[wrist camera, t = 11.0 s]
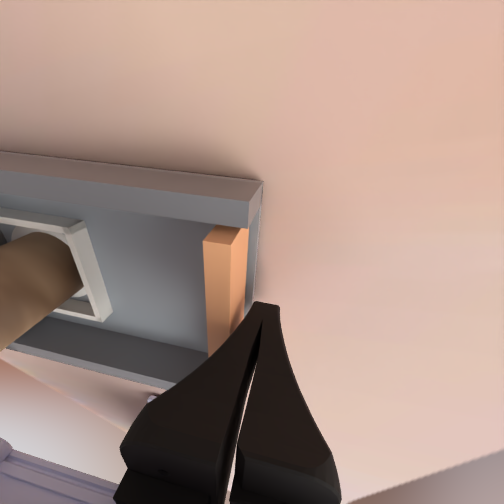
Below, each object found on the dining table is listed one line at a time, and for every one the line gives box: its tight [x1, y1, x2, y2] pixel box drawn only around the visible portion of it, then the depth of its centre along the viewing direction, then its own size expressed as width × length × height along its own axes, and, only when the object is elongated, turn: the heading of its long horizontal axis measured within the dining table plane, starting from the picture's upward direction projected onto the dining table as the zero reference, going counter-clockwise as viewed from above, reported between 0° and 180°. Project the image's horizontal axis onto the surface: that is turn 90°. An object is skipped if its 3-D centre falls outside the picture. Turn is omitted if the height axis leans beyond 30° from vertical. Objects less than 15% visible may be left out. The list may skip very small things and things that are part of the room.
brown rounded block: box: [0, 232, 84, 352], centre depth 13 cm, size 4×4×5 cm
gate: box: [203, 224, 249, 358], centre depth 12 cm, size 10×1×3 cm, turn 176°
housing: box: [0, 151, 263, 390], centre depth 14 cm, size 13×17×3 cm
